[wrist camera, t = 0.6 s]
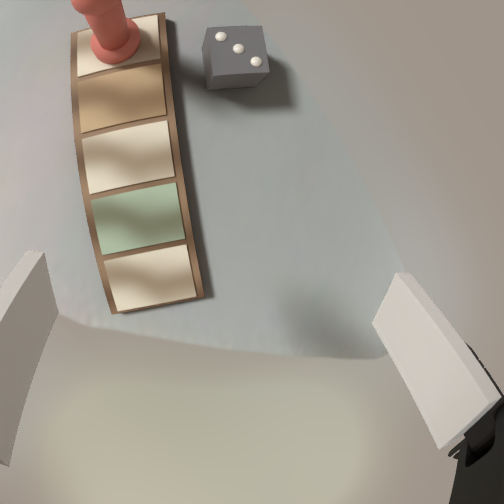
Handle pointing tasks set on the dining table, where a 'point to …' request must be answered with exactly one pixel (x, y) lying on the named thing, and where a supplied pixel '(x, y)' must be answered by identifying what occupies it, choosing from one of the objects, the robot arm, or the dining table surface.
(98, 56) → the pawn
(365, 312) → the dining table surface
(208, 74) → the die
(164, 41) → the board
